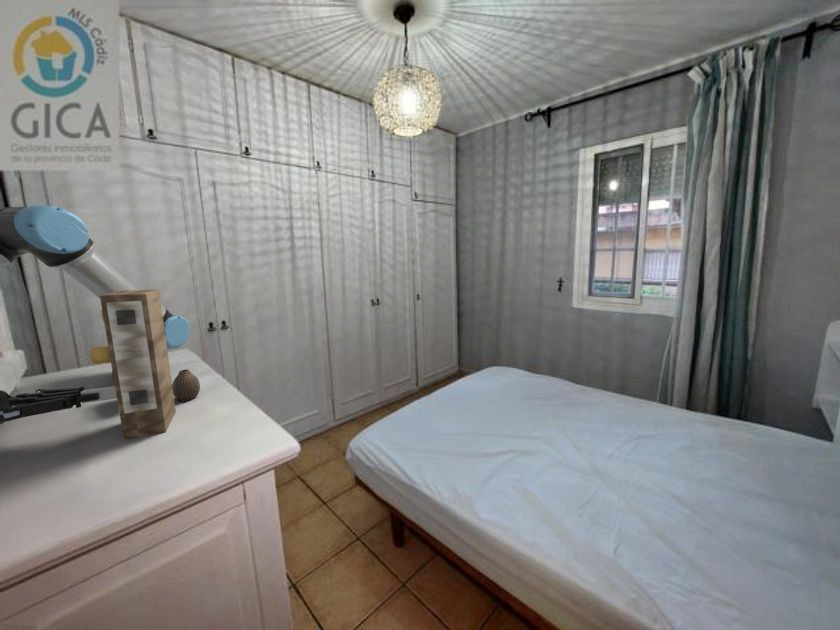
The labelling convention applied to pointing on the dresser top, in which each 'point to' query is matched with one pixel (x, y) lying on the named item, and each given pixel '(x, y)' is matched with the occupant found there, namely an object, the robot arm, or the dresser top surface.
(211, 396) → the dresser top surface
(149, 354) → the button column
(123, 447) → the dresser top surface
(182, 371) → the vase
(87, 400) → the robot arm
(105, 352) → the button mid
